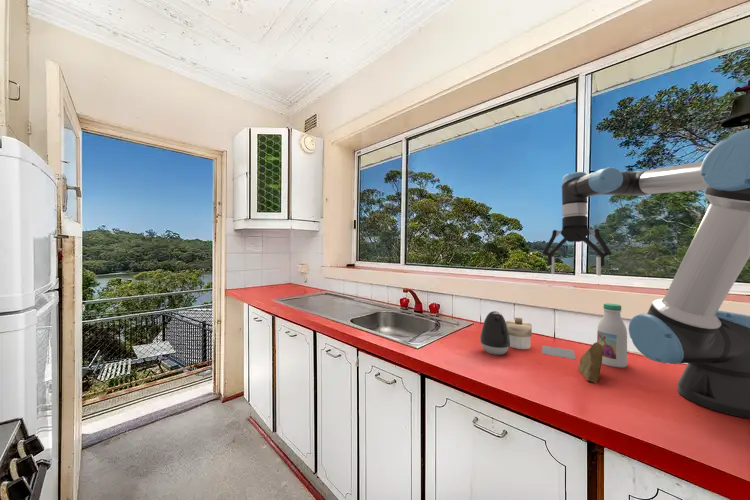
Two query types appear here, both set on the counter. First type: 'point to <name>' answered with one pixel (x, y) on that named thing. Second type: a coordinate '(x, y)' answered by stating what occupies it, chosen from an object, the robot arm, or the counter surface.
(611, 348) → the milk bottle
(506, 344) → the black egg-shaped device
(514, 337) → the bowl
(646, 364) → the counter surface
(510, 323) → the lid
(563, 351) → the mat
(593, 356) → the rock
